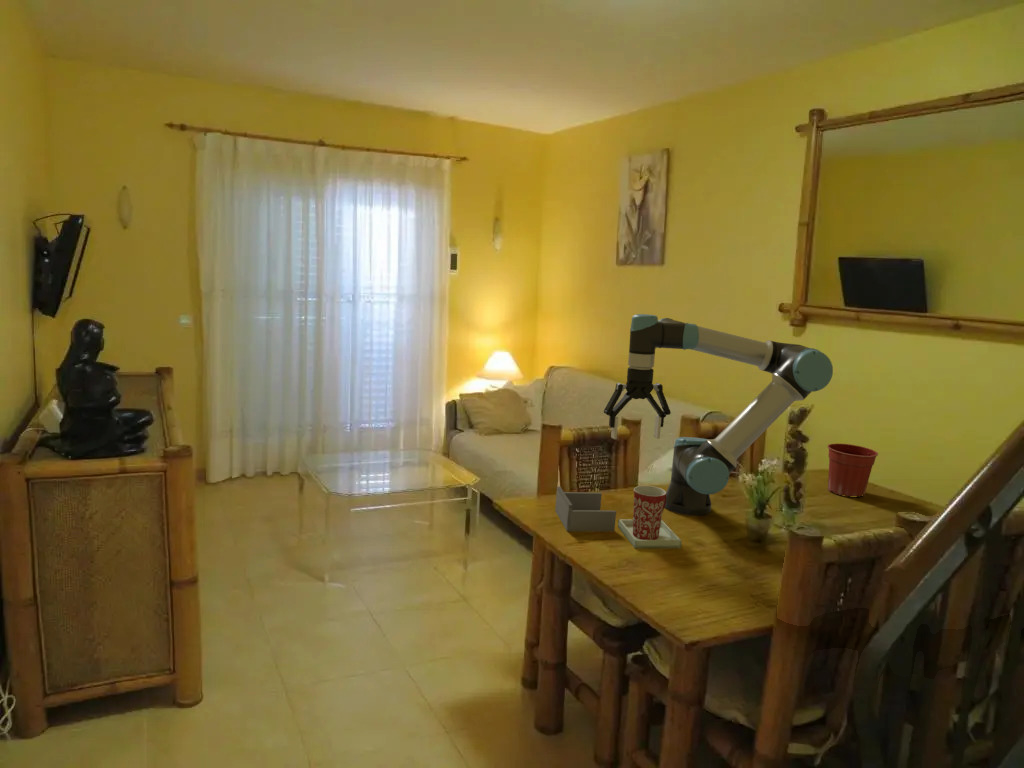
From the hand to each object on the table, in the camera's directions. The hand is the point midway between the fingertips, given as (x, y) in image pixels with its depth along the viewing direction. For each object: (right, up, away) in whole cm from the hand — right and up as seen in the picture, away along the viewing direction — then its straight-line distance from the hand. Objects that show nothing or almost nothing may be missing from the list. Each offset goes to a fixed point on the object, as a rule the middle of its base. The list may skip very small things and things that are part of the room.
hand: (635, 438), depth 217 cm
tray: (+2, -28, -9) cm, 29 cm away
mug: (+2, -27, -9) cm, 29 cm away
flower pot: (+83, -23, +45) cm, 97 cm away
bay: (-15, -25, +1) cm, 29 cm away
